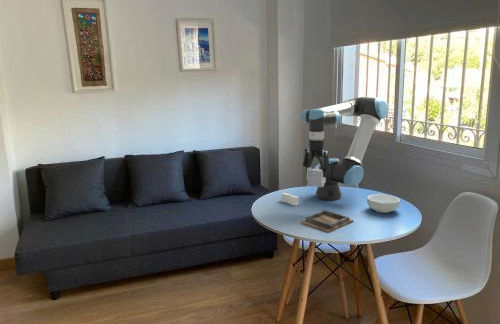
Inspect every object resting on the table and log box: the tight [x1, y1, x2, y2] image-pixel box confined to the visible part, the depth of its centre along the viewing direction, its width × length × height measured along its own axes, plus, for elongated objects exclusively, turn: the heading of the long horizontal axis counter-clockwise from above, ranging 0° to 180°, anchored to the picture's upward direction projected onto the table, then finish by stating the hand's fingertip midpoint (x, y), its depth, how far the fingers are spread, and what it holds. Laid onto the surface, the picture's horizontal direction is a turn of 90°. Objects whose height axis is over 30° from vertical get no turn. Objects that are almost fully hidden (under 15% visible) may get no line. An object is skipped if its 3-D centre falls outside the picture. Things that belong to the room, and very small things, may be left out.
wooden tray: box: [300, 209, 354, 234], centre depth 202 cm, size 20×17×3 cm
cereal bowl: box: [366, 193, 401, 214], centre depth 217 cm, size 17×17×7 cm
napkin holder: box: [281, 192, 300, 207], centre depth 232 cm, size 15×11×6 cm
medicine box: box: [307, 168, 324, 188], centre depth 213 cm, size 8×4×9 cm, turn 65°
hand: (316, 181), depth 214 cm, fingers closed on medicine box, 9 cm apart
